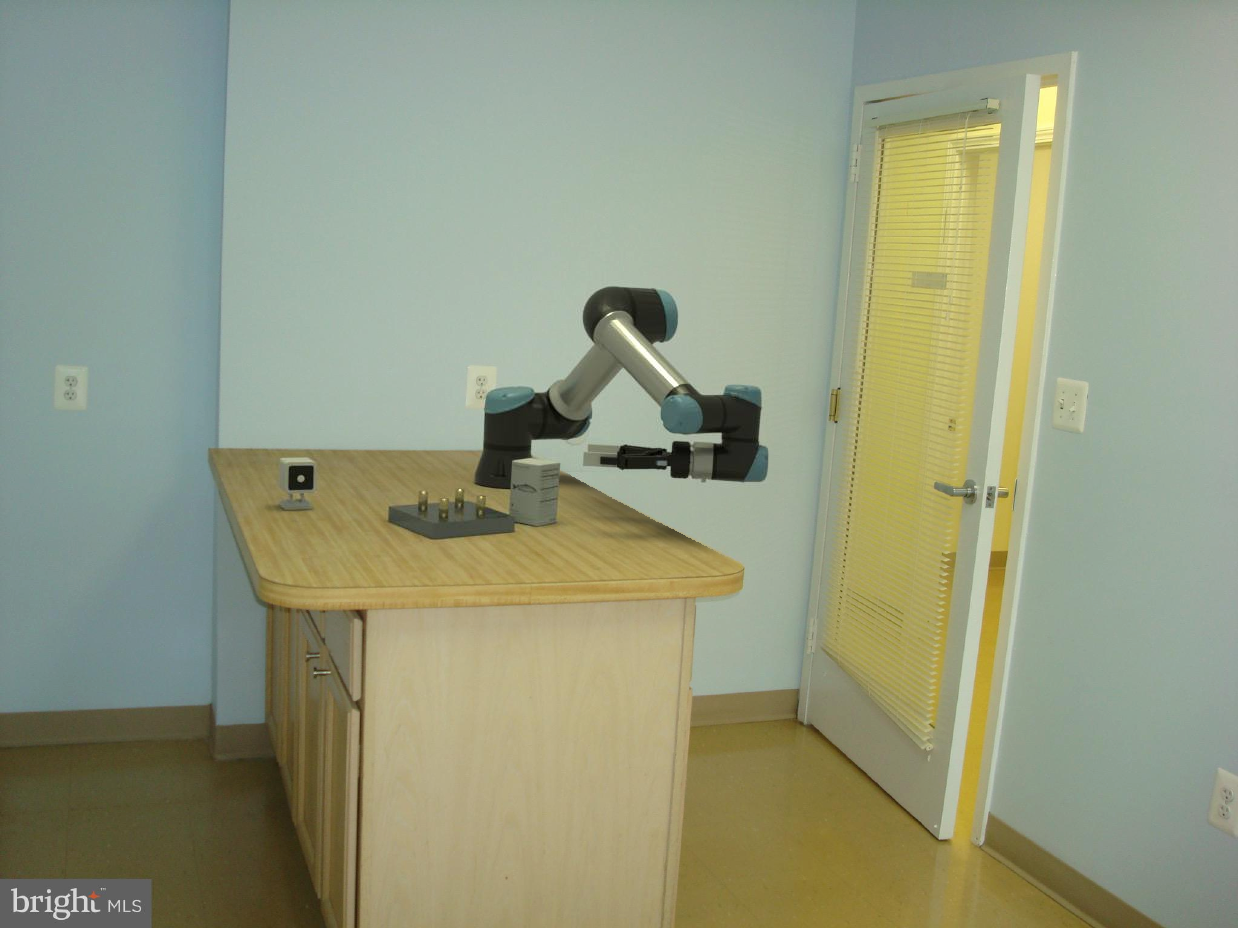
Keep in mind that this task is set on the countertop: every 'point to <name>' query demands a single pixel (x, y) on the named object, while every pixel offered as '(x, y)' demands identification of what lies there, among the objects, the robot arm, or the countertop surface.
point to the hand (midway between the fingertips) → (585, 454)
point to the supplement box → (534, 491)
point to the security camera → (297, 481)
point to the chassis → (451, 517)
